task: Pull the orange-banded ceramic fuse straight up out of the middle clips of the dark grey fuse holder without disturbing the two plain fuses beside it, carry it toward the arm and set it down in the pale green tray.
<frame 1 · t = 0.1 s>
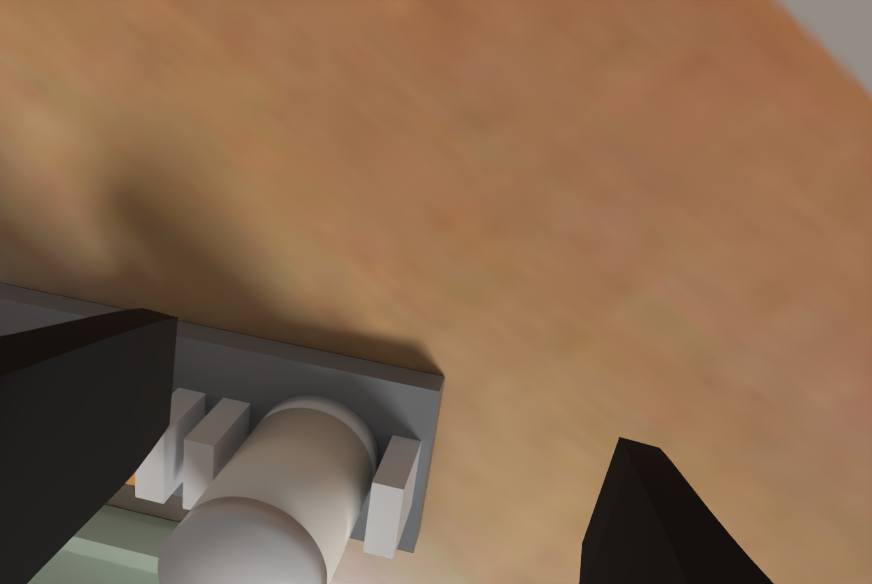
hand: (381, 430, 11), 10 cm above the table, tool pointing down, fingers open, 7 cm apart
fuse holder: (129, 391, 24), on the table
fuse 1: (317, 451, 23), point 1 cm above the table, touching fuse holder
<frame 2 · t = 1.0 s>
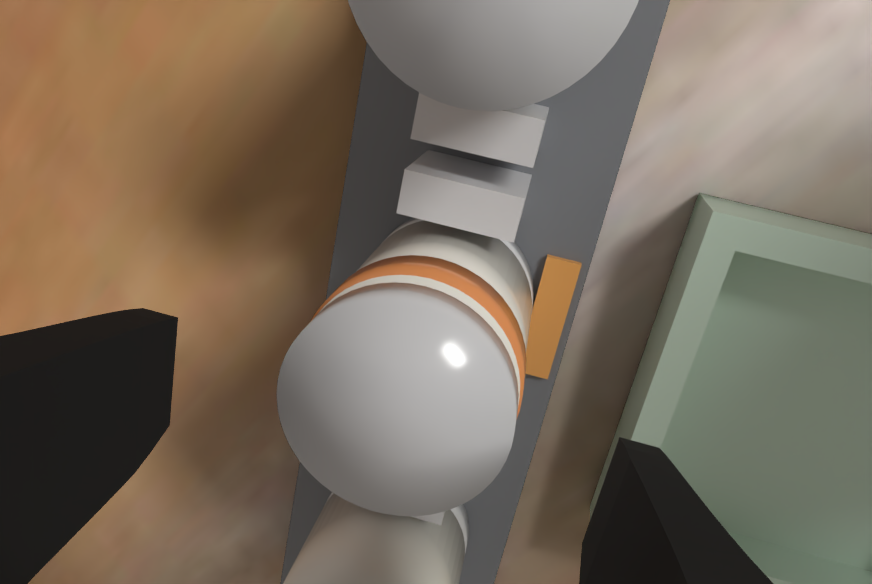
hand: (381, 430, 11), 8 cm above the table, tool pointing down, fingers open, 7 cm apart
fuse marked: (450, 291, 17), point 1 cm above the table, touching fuse holder
fuse 2: (397, 521, 20), point 1 cm above the table, touching fuse holder
fuse holder: (456, 278, 18), on the table
tray: (820, 411, 18), on the table
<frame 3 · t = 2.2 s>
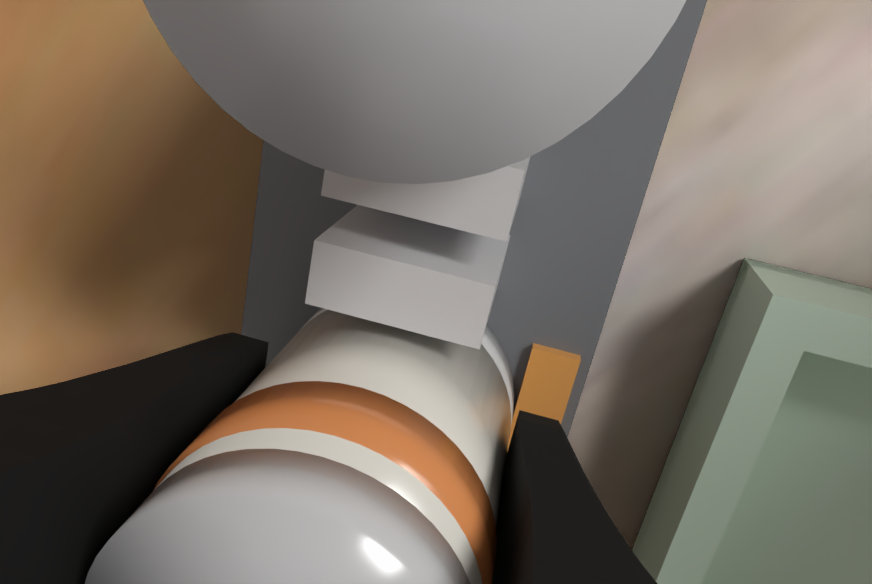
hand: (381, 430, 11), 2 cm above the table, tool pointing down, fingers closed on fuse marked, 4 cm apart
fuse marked: (400, 389, 13), point 1 cm above the table, touching fuse holder, gripper
fuse holder: (412, 365, 14), on the table
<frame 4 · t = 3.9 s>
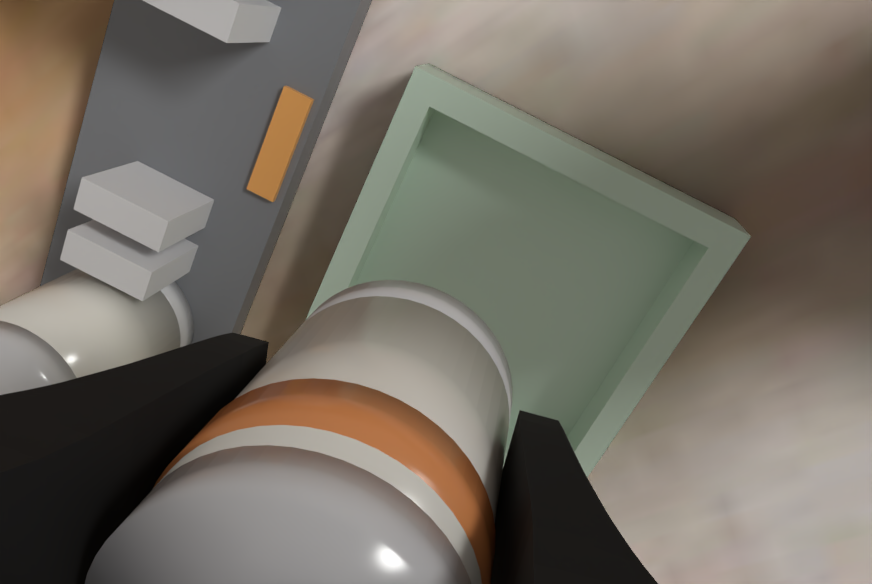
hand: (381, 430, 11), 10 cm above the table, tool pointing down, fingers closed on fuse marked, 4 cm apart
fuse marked: (398, 387, 13), point 8 cm above the table, touching gripper
fuse 2: (131, 317, 22), point 1 cm above the table, touching fuse holder
fuse holder: (217, 101, 20), on the table
tray: (503, 283, 21), on the table
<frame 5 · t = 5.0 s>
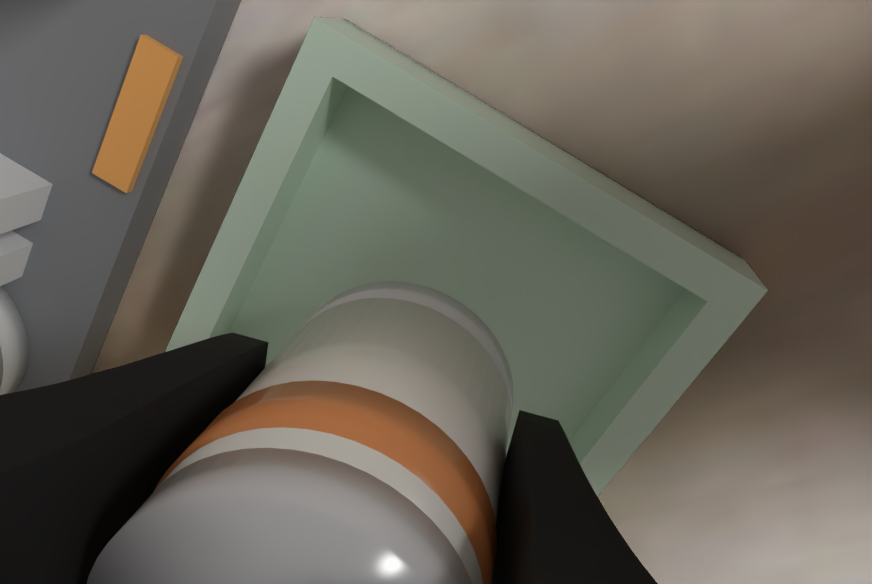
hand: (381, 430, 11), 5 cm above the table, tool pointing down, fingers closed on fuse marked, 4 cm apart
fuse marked: (399, 388, 13), point 3 cm above the table, touching gripper
fuse holder: (65, 51, 15), on the table
tray: (434, 321, 16), on the table
when the fingers open (3 cm above the table, at t = 5.7 s): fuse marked drops 2 cm, resting on tray.
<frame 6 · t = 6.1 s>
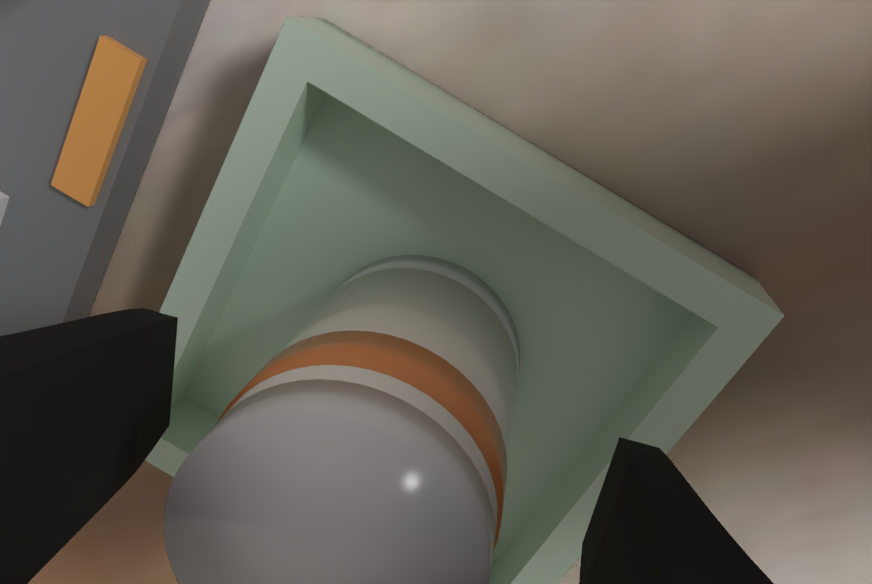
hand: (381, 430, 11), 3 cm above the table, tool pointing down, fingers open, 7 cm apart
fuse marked: (417, 352, 14), resting on tray
fuse holder: (23, 53, 14), on the table
tray: (422, 343, 14), on the table
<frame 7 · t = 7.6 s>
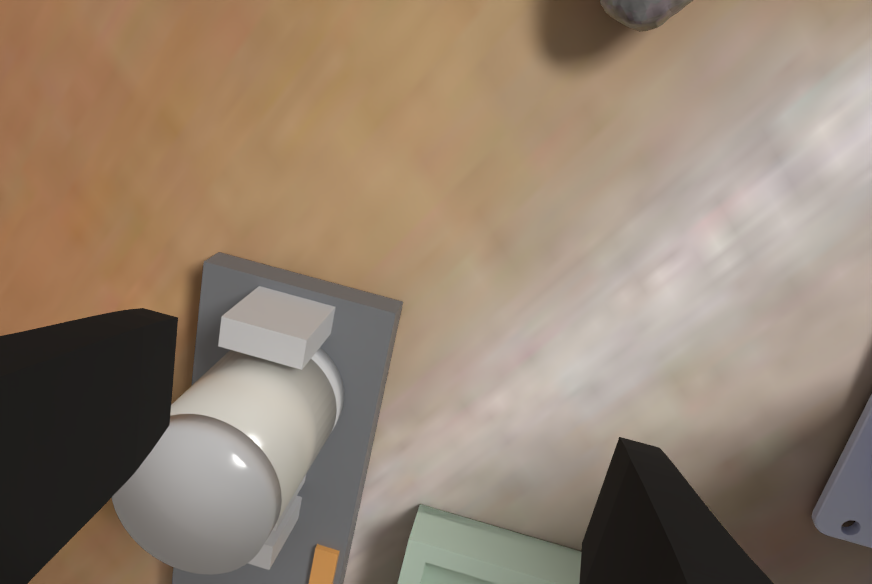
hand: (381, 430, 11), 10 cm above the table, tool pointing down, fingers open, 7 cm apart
fuse holder: (267, 542, 26), on the table
fuse 1: (282, 388, 23), point 1 cm above the table, touching fuse holder
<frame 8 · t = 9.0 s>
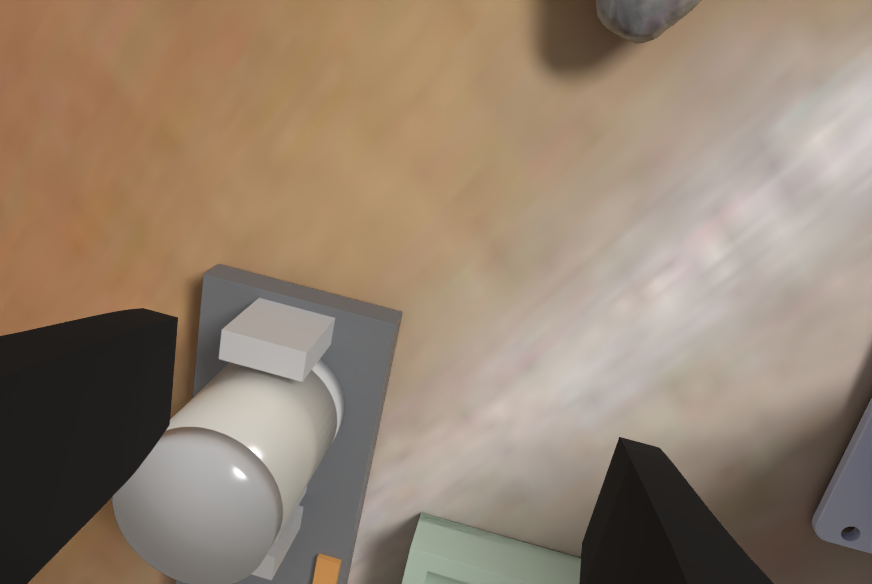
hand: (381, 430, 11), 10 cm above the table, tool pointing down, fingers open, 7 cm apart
fuse holder: (269, 551, 26), on the table
fuse 1: (283, 399, 23), point 1 cm above the table, touching fuse holder
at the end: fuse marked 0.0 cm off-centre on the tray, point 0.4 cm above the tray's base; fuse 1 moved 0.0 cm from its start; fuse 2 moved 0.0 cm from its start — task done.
